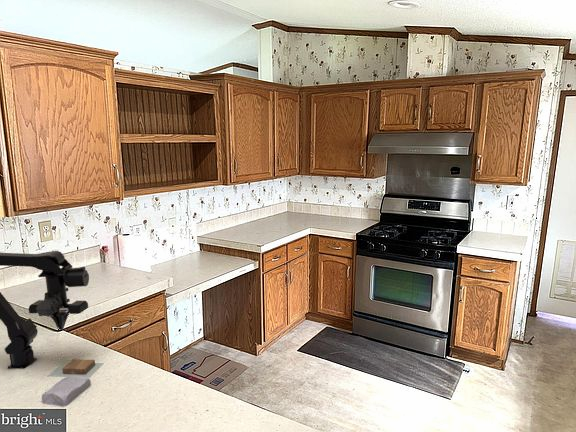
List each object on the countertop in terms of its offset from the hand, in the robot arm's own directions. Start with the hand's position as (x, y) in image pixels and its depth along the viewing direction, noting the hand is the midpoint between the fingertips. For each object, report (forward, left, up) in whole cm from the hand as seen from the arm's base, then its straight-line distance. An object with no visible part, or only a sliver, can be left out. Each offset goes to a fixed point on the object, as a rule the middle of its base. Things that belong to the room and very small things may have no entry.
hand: (61, 329), depth 144 cm
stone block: (+13, -19, -12) cm, 26 cm away
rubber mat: (+8, -6, -12) cm, 16 cm away
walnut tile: (+5, -6, -11) cm, 13 cm away
